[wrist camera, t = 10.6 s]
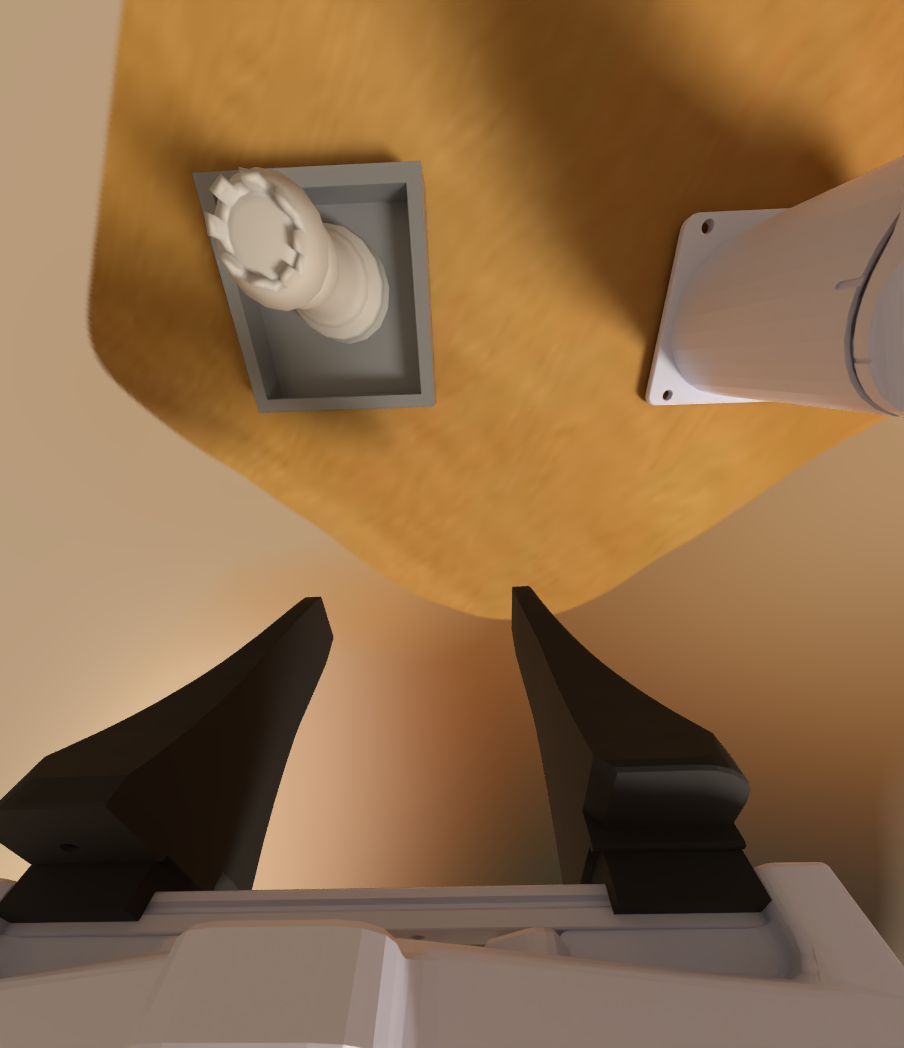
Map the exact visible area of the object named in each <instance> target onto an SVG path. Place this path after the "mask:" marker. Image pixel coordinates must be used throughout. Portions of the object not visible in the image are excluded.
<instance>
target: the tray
mask: <svg viewBox="0 0 904 1048" xmlns="http://www.w3.org/2000/svg"><path fill="white" fill-rule="evenodd" d="M267 169H269V170H274V171H279V172H281V173H282V174H283V175H285V176H286V177H288V178H289V179H290V180H292V181H293V182H294V183H296V184H297V185H299V186H300V187H301V188H302V189H303V190H304V192H305V193H306V195H307V196H308V197H309V199H310V200H311V202H312V203H313V205H314V206H315V208H316V209H317V210H318V212H319V214H320V217H321V220H322V223H329V224H334V225H339V226H344V227H347V228H348V229H350V230H351V231H352V232H354V233H355V234H357V235H358V236H359V237H361V238H362V239H363V240H365V242H366V243H368V244H369V245H370V246H371V247H372V249H373V250H374V252H375V253H376V255H377V256H378V258H379V259H380V261H381V262H382V264H383V266H384V270H385V274H386V277H387V281H388V285H389V300H388V310H387V313H386V315H385V317H384V319H383V322H382V324H381V326H380V328H379V329H378V330H377V331H375V332H374V333H373V334H372V335H371V336H370V337H369V338H368V339H366V340H363V341H359V342H356V343H353V344H347V343H341V342H336V341H332V340H331V339H328V338H326V337H324V336H323V335H321V334H319V333H318V332H316V331H315V330H313V329H312V328H310V327H309V326H308V324H307V323H306V322H305V321H304V319H303V318H302V317H301V315H300V314H299V313H298V312H297V310H296V309H293V310H290V311H283V310H278V309H272V308H266V307H265V306H263V305H262V304H260V303H258V302H257V301H255V300H254V299H252V298H250V297H249V296H247V295H246V294H245V293H244V292H243V291H242V289H241V288H240V287H239V286H238V285H237V283H236V282H235V281H234V280H233V279H232V277H231V276H230V275H229V274H228V271H227V269H226V268H225V266H224V265H223V264H222V263H221V262H220V260H219V259H218V257H219V256H220V253H219V251H218V249H217V243H216V240H215V239H214V238H212V237H210V240H211V243H212V247H213V251H214V254H215V258H216V261H217V265H218V268H219V272H220V276H221V279H222V283H223V286H224V290H225V293H226V297H227V301H228V304H229V308H230V311H231V315H232V318H233V322H234V326H235V329H236V333H237V336H238V340H239V343H240V347H241V351H242V354H243V358H244V361H245V365H246V368H247V372H248V376H249V379H250V383H251V386H252V390H253V393H254V397H255V401H256V404H257V408H258V411H259V413H263V412H291V411H320V410H348V409H377V408H405V407H433V406H434V405H435V403H436V393H435V374H434V354H433V335H432V316H431V297H430V278H429V259H428V240H427V221H426V202H425V185H424V179H423V173H422V167H421V161H403V162H384V163H364V164H345V165H326V166H306V167H287V168H267ZM220 173H221V174H222V175H223V176H224V177H226V178H227V179H228V180H230V179H231V177H232V176H233V175H234V174H236V173H239V170H228V171H209V172H192V176H193V179H194V183H195V186H196V190H197V193H198V197H199V201H200V204H201V208H202V211H203V215H204V211H205V212H207V213H210V214H212V215H214V214H215V210H216V205H217V200H218V198H217V197H216V196H215V195H214V194H213V193H212V192H211V191H210V190H209V188H210V186H211V185H212V184H213V182H214V181H215V180H216V178H217V177H218V176H219V174H220ZM204 218H205V215H204Z"/></svg>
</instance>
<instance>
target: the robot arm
mask: <svg viewBox="0 0 904 1048" xmlns="http://www.w3.org/2000/svg"><path fill="white" fill-rule="evenodd" d="M704 222H706V223H707V225H708V230H707V232H706V234H704V233H703V232H702V225H703V223H704ZM665 391H668V396H667V398H666V399H663V394H664V392H665ZM645 399H646V402H647V403H648V404H651V405H679V404H708V403H737V402H765V401H772V402H781V403H789V404H798V405H806V406H814V407H823V408H831V409H840V410H848V411H857V412H865V413H873V414H882V415H890V416H900V417H903V418H904V156H902V157H899V158H897V159H895V160H893V161H891V162H889V163H887V164H884V165H882V166H880V167H878V168H876V169H874V170H871V171H869V172H867V173H865V174H863V175H861V176H859V177H856V178H854V179H852V180H850V181H848V182H846V183H843V184H841V185H839V186H837V187H835V188H833V189H830V190H828V191H826V192H824V193H822V194H820V195H818V196H815V197H813V198H811V199H809V200H807V201H805V202H802V203H800V204H798V205H796V206H794V207H792V208H782V209H761V210H740V211H719V212H699V213H695V214H693V215H692V216H690V217H689V218H687V219H686V220H685V222H684V223H683V224H682V227H681V229H680V234H679V238H678V243H677V248H676V253H675V257H674V262H673V267H672V272H671V276H670V281H669V286H668V291H667V295H666V300H665V305H664V310H663V314H662V319H661V324H660V329H659V333H658V338H657V343H656V348H655V352H654V357H653V362H652V367H651V371H650V376H649V381H648V386H647V390H646V395H645ZM512 634H513V640H514V646H515V651H516V657H517V660H518V663H519V668H520V671H521V675H522V678H523V682H524V685H525V689H526V692H527V696H528V699H529V703H530V707H531V710H532V714H533V717H534V722H535V726H536V731H537V736H538V741H539V746H540V752H541V757H542V763H543V768H544V774H545V779H546V785H547V790H548V796H549V802H550V808H551V814H552V820H553V826H554V832H555V837H556V844H557V850H558V856H559V863H560V868H561V875H562V881H563V885H525V886H524V885H523V886H522V885H520V886H468V887H467V886H464V887H412V888H411V887H410V888H409V887H408V888H351V889H300V890H299V889H296V890H252V887H253V883H254V879H255V875H256V870H257V866H258V862H259V858H260V854H261V850H262V846H263V842H264V838H265V834H266V831H267V827H268V823H269V820H270V816H271V813H272V808H273V805H274V802H275V798H276V795H277V792H278V788H279V785H280V781H281V778H282V775H283V772H284V768H285V765H286V762H287V759H288V756H289V753H290V750H291V747H292V744H293V741H294V738H295V735H296V733H297V730H298V727H299V725H300V722H301V720H302V717H303V716H304V713H305V711H306V709H307V706H308V704H309V702H310V700H311V697H312V695H313V692H314V690H315V688H316V686H317V683H318V681H319V679H320V676H321V674H322V672H323V669H324V667H325V665H326V662H327V659H328V655H329V652H330V648H331V645H332V641H333V634H332V631H331V627H330V624H329V621H328V618H327V614H326V612H325V608H324V604H323V601H322V598H321V597H306V598H304V599H303V600H301V601H300V602H299V603H298V604H296V605H295V606H294V607H292V608H291V609H290V610H289V611H287V612H286V613H285V614H284V615H283V616H282V617H280V618H279V619H278V620H276V622H274V623H273V624H272V625H271V626H269V627H268V628H267V629H265V630H264V631H263V632H262V633H261V634H259V635H258V636H257V637H255V638H254V639H253V640H251V641H250V642H249V643H247V644H246V645H245V646H244V647H242V648H241V649H240V650H238V651H237V652H236V653H234V654H233V655H231V656H230V657H229V658H227V659H226V660H224V661H223V662H222V663H220V664H219V665H217V666H216V667H214V668H213V669H211V670H210V671H208V672H207V673H205V674H204V675H202V676H201V677H199V678H197V679H196V680H194V681H193V682H191V683H189V684H188V685H186V686H184V687H183V688H181V689H179V690H177V691H176V692H174V693H172V694H171V695H169V696H167V697H166V698H164V699H162V700H160V701H159V702H157V703H155V704H153V705H151V706H150V707H148V708H146V709H144V710H142V711H140V712H138V713H136V714H135V715H133V716H131V717H129V718H127V719H125V720H123V721H121V722H119V723H117V724H115V725H113V726H111V727H109V728H107V729H105V730H103V731H100V732H98V733H96V734H94V735H92V736H90V737H88V738H85V739H83V740H81V741H79V742H77V743H75V744H72V745H70V746H68V747H66V748H63V749H61V750H59V751H57V752H55V753H52V754H50V755H48V756H46V757H44V758H43V759H42V760H41V761H40V762H39V763H38V764H37V765H36V766H35V767H34V768H33V769H32V770H31V771H30V772H29V773H28V774H27V775H26V776H25V777H23V779H21V781H19V782H18V783H17V784H16V785H15V786H14V787H13V788H12V789H11V790H10V791H9V792H8V793H7V794H6V795H5V796H4V797H3V798H2V799H1V800H0V843H1V844H2V845H4V846H6V847H7V848H8V849H10V850H11V851H13V852H14V853H15V854H17V855H18V856H20V857H21V858H23V859H24V860H25V861H27V862H28V863H30V864H32V865H31V866H30V867H29V868H28V870H27V871H26V872H25V873H24V874H23V876H22V877H21V878H20V879H19V880H18V882H16V881H12V880H8V879H1V878H0V1048H904V967H903V966H902V964H901V963H900V961H899V960H898V959H897V957H896V956H895V955H894V953H893V952H892V951H891V949H890V948H889V947H888V945H887V944H886V943H885V941H884V940H883V939H882V937H881V936H880V935H879V933H878V932H877V931H876V929H875V928H874V926H873V925H872V924H871V922H870V921H869V920H868V918H867V917H866V916H865V914H864V913H863V912H862V910H861V909H860V908H859V907H858V905H857V904H856V902H855V901H854V900H853V898H852V897H851V896H850V894H849V893H848V892H847V890H846V889H845V888H844V886H843V885H842V884H841V882H840V881H839V880H838V878H837V877H836V876H835V874H834V873H833V872H832V870H831V869H830V868H829V866H828V865H825V864H824V863H822V862H800V863H798V862H797V863H769V864H764V865H760V866H757V867H756V868H754V869H753V868H752V866H751V864H750V862H749V861H748V859H747V857H746V856H745V854H744V852H743V851H742V849H745V847H746V844H745V841H744V839H743V837H742V836H741V834H740V833H739V831H738V829H737V828H736V826H735V824H734V821H735V820H736V818H737V817H738V815H739V813H740V812H741V810H742V809H743V807H744V805H745V804H746V802H747V799H748V796H749V793H750V786H749V781H748V780H747V778H746V777H745V776H744V774H743V773H742V771H741V770H740V768H739V767H738V766H737V764H736V763H735V761H734V760H733V758H732V757H731V756H730V754H729V753H728V752H727V750H726V749H725V748H724V747H723V745H721V743H720V742H719V741H718V740H717V738H716V737H715V736H714V734H713V733H711V732H710V731H708V730H706V729H704V728H702V727H701V726H699V725H697V724H695V723H693V722H692V721H690V720H688V719H686V718H684V717H683V716H681V715H679V714H677V713H675V712H674V711H672V710H670V709H668V708H667V707H665V706H664V705H662V704H660V703H659V702H657V701H656V700H654V699H652V698H651V697H649V696H648V695H646V694H645V693H643V692H642V691H640V690H638V689H637V688H636V687H634V686H633V685H631V684H630V683H629V682H627V681H626V680H625V679H623V678H622V677H620V676H619V675H618V674H616V673H615V672H613V671H612V670H611V669H610V668H608V667H607V666H606V665H604V664H603V663H602V662H601V661H600V660H598V659H597V658H596V657H595V656H594V655H593V654H591V653H590V652H589V651H588V650H587V649H586V648H585V647H584V646H583V645H581V644H580V643H579V642H578V641H577V640H576V639H575V638H574V637H573V636H572V635H571V634H570V633H569V632H568V631H567V630H566V629H565V628H564V627H563V625H562V624H561V623H560V622H559V621H558V620H557V619H556V618H555V617H554V616H553V614H552V613H551V612H550V611H549V610H548V609H547V607H546V606H545V605H544V604H543V603H542V601H541V600H540V599H539V598H538V596H537V595H536V594H535V592H534V591H533V590H532V588H530V587H529V586H521V587H512ZM458 944H486V945H485V947H476V946H467V945H458Z"/></svg>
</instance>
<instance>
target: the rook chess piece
mask: <svg viewBox="0 0 904 1048" xmlns="http://www.w3.org/2000/svg"><path fill="white" fill-rule="evenodd" d="M238 168H239V173H236V174H234V175H233V176H232V177H231V179H230V180H228V179H227V178H226V177H224V176H223V175H222V174H221V173H220V174H219V176H218V177H217V178H216V180H215V181H214V182H213V184H212V185H211V186H210V188H209V190H210V191H211V192H212V193H213V194H214V195H215V196H216V197H217V198H218V200H217V205H216V210H215V214H214V215H212V214H210V213H207V212H205V211H204V215H205V222H206V230H207V235H208V236H210V237H212V238H214V239H215V240H216V243H217V249H218V251H219V253H220V256H219V257H218V259H219V260H220V262H221V263H222V264H223V265H224V266H225V268H226V269H227V271H228V274H229V275H230V276H231V277H232V279H233V280H234V281H235V282H236V283H237V285H238V286H239V287H240V288H241V289H242V291H243V292H244V293H245V294H246V295H247V296H249V297H250V298H252V299H254V300H255V301H257V302H258V303H260V304H262V305H263V306H265V307H266V308H272V309H278V310H283V311H290V310H293V309H296V310H297V312H298V313H299V314H300V315H301V317H302V318H303V319H304V321H305V322H306V323H307V324H308V326H309V327H310V328H312V329H313V330H315V331H316V332H318V333H319V334H321V335H323V336H324V337H326V338H328V339H331V340H332V341H336V342H341V343H347V344H353V343H356V342H359V341H363V340H366V339H368V338H369V337H370V336H371V335H372V334H373V333H374V332H375V331H377V330H378V329H379V328H380V326H381V324H382V322H383V319H384V317H385V315H386V313H387V310H388V300H389V285H388V281H387V277H386V274H385V270H384V266H383V264H382V262H381V261H380V259H379V258H378V256H377V255H376V253H375V252H374V250H373V249H372V247H371V246H370V245H369V244H368V243H366V242H365V240H363V239H362V238H361V237H359V236H358V235H357V234H355V233H354V232H352V231H351V230H350V229H348V228H347V227H344V226H339V225H334V224H329V223H322V220H321V217H320V214H319V212H318V210H317V209H316V208H315V206H314V205H313V203H312V202H311V200H310V199H309V197H308V196H307V195H306V193H305V192H304V190H303V189H302V188H301V187H300V186H299V185H297V184H296V183H294V182H293V181H292V180H290V179H289V178H288V177H286V176H285V175H283V174H282V173H281V172H279V171H274V170H269V169H264V168H259V167H253V168H250V169H248V168H243V167H238Z"/></svg>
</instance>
